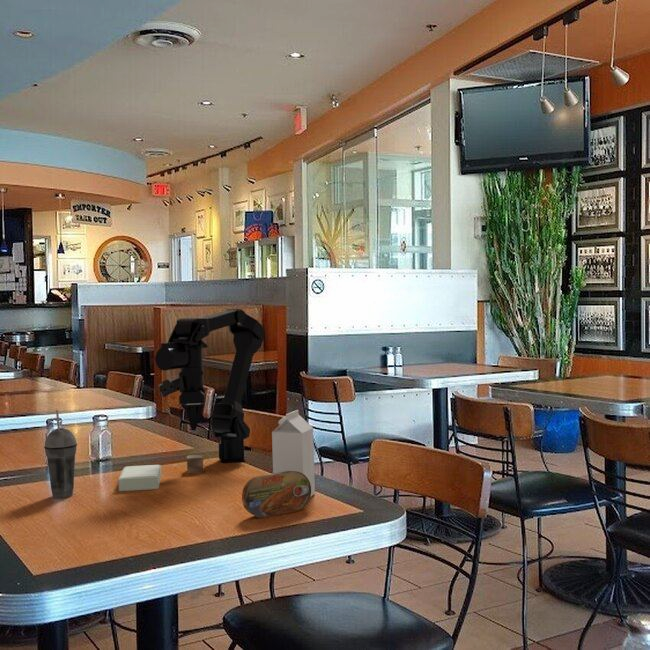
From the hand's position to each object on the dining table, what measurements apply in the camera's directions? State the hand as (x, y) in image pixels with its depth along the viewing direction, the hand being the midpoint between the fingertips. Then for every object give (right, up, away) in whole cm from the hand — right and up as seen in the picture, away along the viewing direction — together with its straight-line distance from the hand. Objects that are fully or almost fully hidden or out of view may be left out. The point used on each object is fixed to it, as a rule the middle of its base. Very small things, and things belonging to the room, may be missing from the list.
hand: (193, 427), depth 208 cm
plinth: (-11, -12, -11) cm, 20 cm away
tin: (+24, -13, -42) cm, 50 cm away
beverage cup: (-27, -13, -22) cm, 37 cm away
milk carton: (+27, -12, -29) cm, 41 cm away
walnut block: (0, -12, 0) cm, 12 cm away
